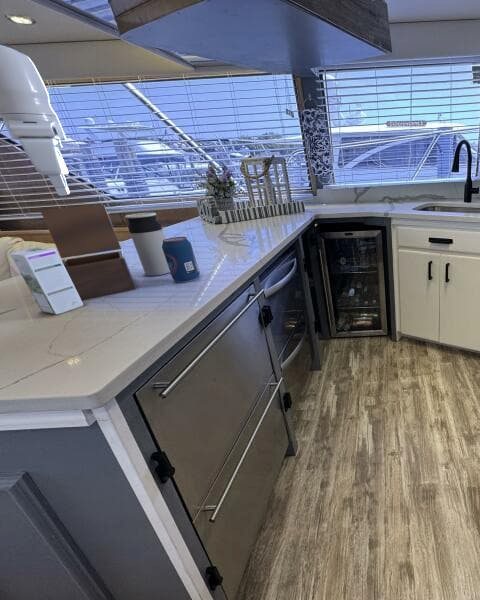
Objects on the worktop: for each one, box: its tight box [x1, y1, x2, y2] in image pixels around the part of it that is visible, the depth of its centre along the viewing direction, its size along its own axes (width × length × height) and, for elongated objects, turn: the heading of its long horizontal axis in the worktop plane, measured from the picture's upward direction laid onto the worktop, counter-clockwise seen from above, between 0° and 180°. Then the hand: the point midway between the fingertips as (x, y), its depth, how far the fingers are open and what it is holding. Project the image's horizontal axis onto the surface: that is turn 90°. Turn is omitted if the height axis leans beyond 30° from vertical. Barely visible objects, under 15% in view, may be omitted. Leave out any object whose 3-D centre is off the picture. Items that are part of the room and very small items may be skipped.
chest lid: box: [39, 204, 122, 259], centre depth 87 cm, size 12×13×1 cm
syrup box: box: [9, 247, 84, 315], centre depth 74 cm, size 6×6×14 cm
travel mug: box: [124, 212, 171, 277], centre depth 98 cm, size 8×8×18 cm
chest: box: [61, 250, 136, 301], centre depth 87 cm, size 12×13×9 cm
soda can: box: [162, 236, 201, 284], centre depth 92 cm, size 7×7×12 cm
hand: (64, 195), depth 78 cm, fingers open, 3 cm apart
